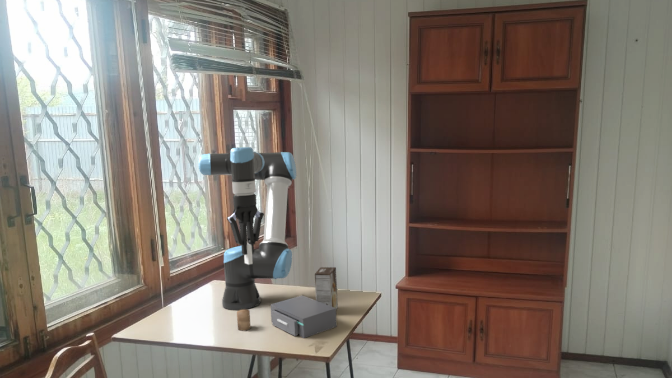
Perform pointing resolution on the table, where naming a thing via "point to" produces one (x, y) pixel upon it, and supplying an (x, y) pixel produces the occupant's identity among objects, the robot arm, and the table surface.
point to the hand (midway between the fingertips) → (248, 263)
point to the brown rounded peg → (243, 320)
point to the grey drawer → (285, 323)
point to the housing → (307, 314)
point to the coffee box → (326, 286)
